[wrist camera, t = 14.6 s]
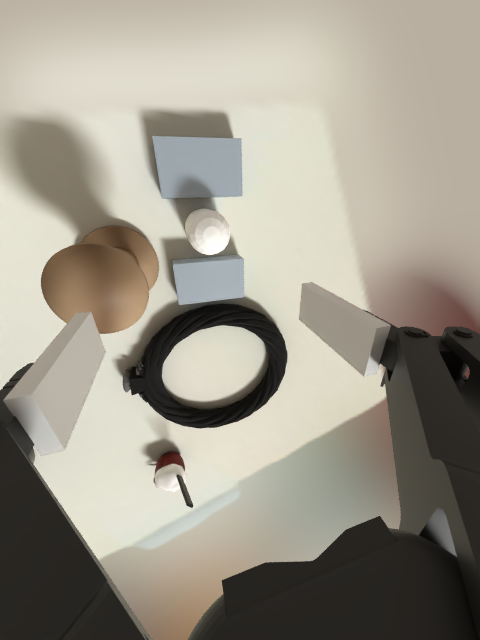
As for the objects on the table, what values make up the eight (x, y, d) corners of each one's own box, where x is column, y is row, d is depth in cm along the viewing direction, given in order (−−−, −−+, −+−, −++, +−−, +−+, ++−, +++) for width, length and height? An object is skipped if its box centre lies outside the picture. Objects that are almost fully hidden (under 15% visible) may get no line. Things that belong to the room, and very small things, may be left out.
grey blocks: (178, 297, 37) (178, 305, 34) (154, 142, 28) (152, 135, 25) (239, 290, 39) (244, 297, 37) (235, 143, 30) (241, 138, 27)
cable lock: (278, 421, 52) (131, 445, 44) (271, 408, 55) (134, 428, 47) (304, 307, 40) (109, 311, 32) (294, 299, 43) (115, 300, 35)
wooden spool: (93, 301, 34) (59, 344, 24) (68, 227, 29) (12, 242, 19) (164, 293, 36) (161, 330, 26) (151, 223, 32) (141, 234, 21)
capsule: (176, 227, 33) (178, 234, 26) (203, 199, 32) (212, 198, 25) (204, 255, 35) (211, 268, 28) (229, 229, 35) (243, 236, 28)
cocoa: (157, 470, 54) (152, 535, 44) (146, 456, 51) (137, 523, 41) (196, 456, 55) (200, 517, 45) (188, 441, 52) (190, 503, 42)
